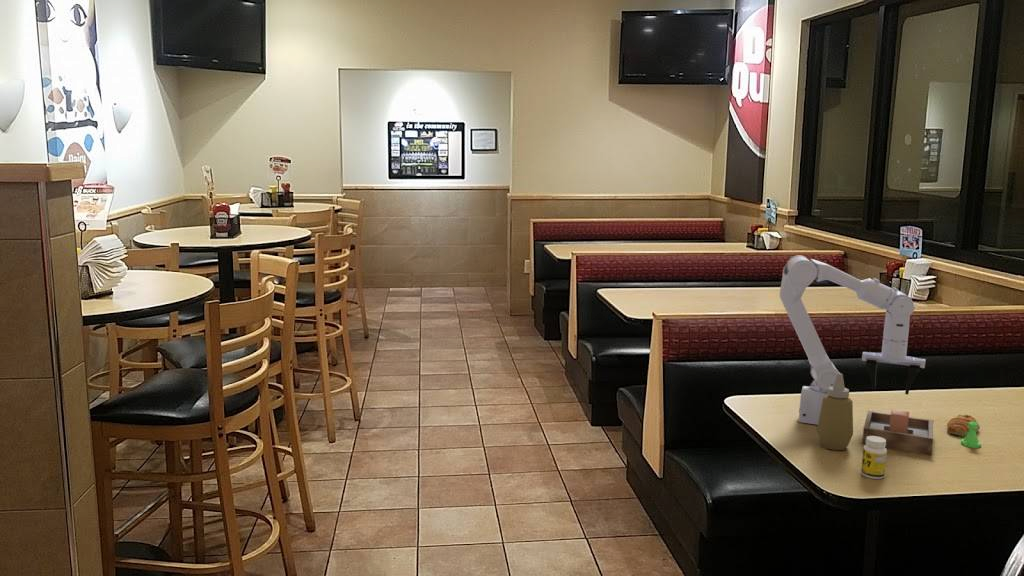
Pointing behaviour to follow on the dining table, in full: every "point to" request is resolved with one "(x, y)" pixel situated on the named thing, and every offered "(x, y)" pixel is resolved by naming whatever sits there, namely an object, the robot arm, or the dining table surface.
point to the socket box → (913, 440)
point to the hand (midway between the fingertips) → (890, 391)
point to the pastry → (960, 425)
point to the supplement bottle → (874, 457)
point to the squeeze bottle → (836, 417)
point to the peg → (899, 421)
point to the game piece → (971, 436)
